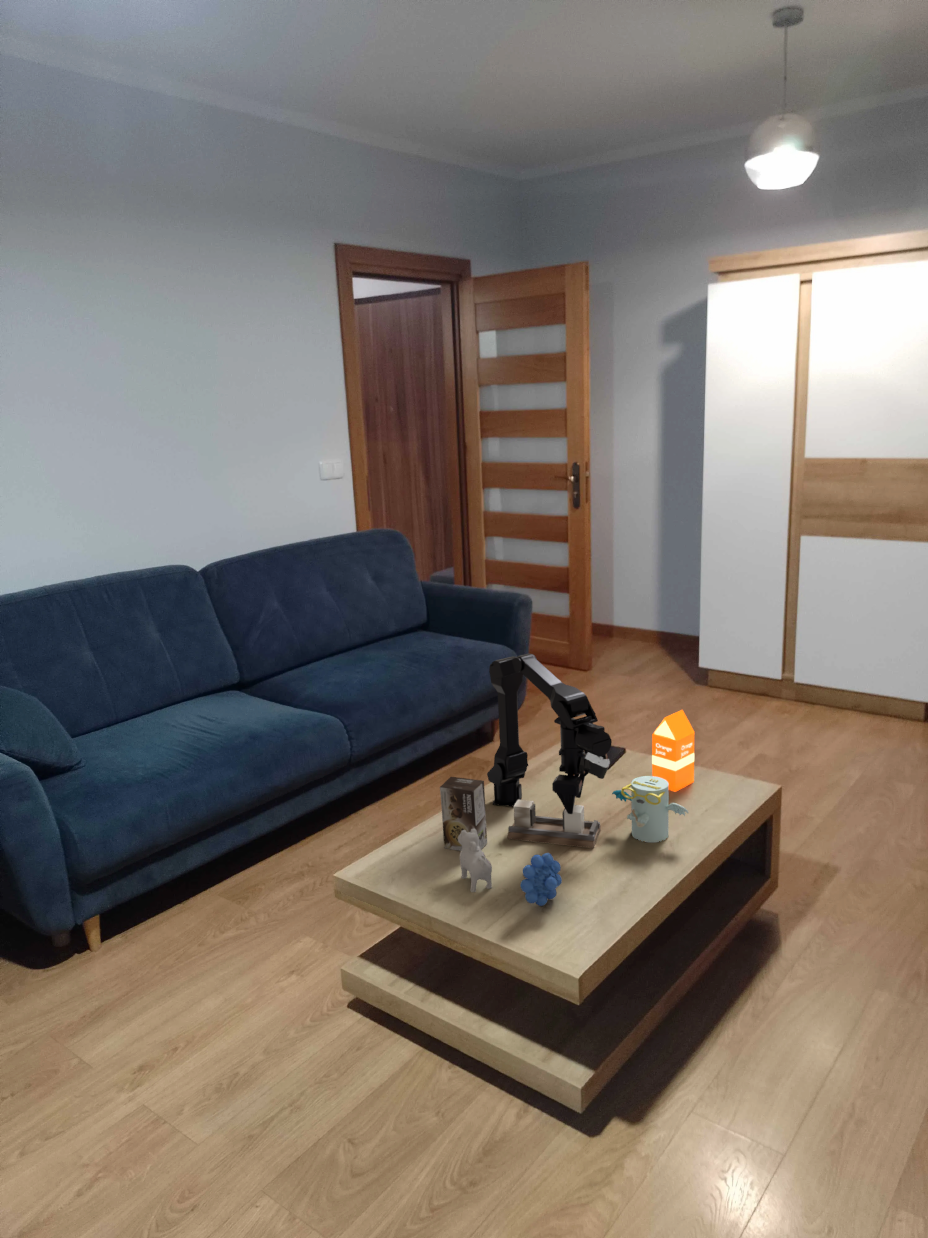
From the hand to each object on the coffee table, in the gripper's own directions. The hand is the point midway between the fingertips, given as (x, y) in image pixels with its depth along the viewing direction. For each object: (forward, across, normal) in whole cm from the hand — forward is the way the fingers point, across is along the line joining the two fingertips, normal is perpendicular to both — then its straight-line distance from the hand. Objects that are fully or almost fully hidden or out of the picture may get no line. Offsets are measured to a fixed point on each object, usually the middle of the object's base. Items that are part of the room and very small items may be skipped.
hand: (574, 805), depth 219 cm
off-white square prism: (+7, 0, 0) cm, 7 cm away
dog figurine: (+9, -25, +18) cm, 32 cm away
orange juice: (+8, +37, -19) cm, 43 cm away
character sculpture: (+9, +5, -17) cm, 19 cm away
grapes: (+9, -32, 0) cm, 33 cm away
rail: (+8, 0, +5) cm, 10 cm away
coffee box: (+8, -10, +25) cm, 28 cm away
